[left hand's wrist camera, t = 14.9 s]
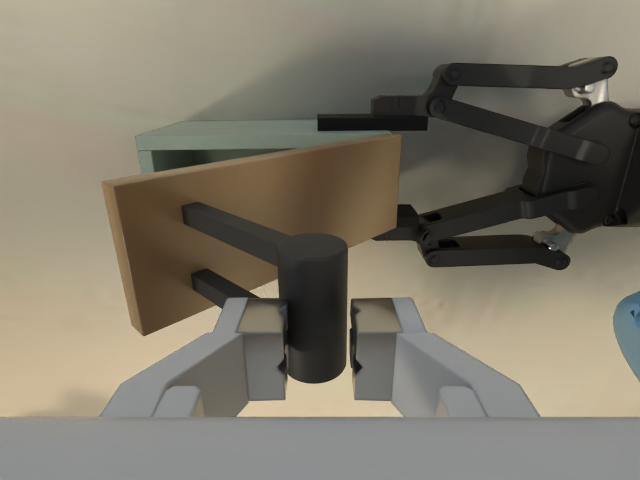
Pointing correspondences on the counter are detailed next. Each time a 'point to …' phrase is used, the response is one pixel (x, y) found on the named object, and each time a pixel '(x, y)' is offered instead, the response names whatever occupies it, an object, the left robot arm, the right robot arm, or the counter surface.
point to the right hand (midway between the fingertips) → (318, 171)
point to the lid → (256, 238)
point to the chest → (230, 141)
